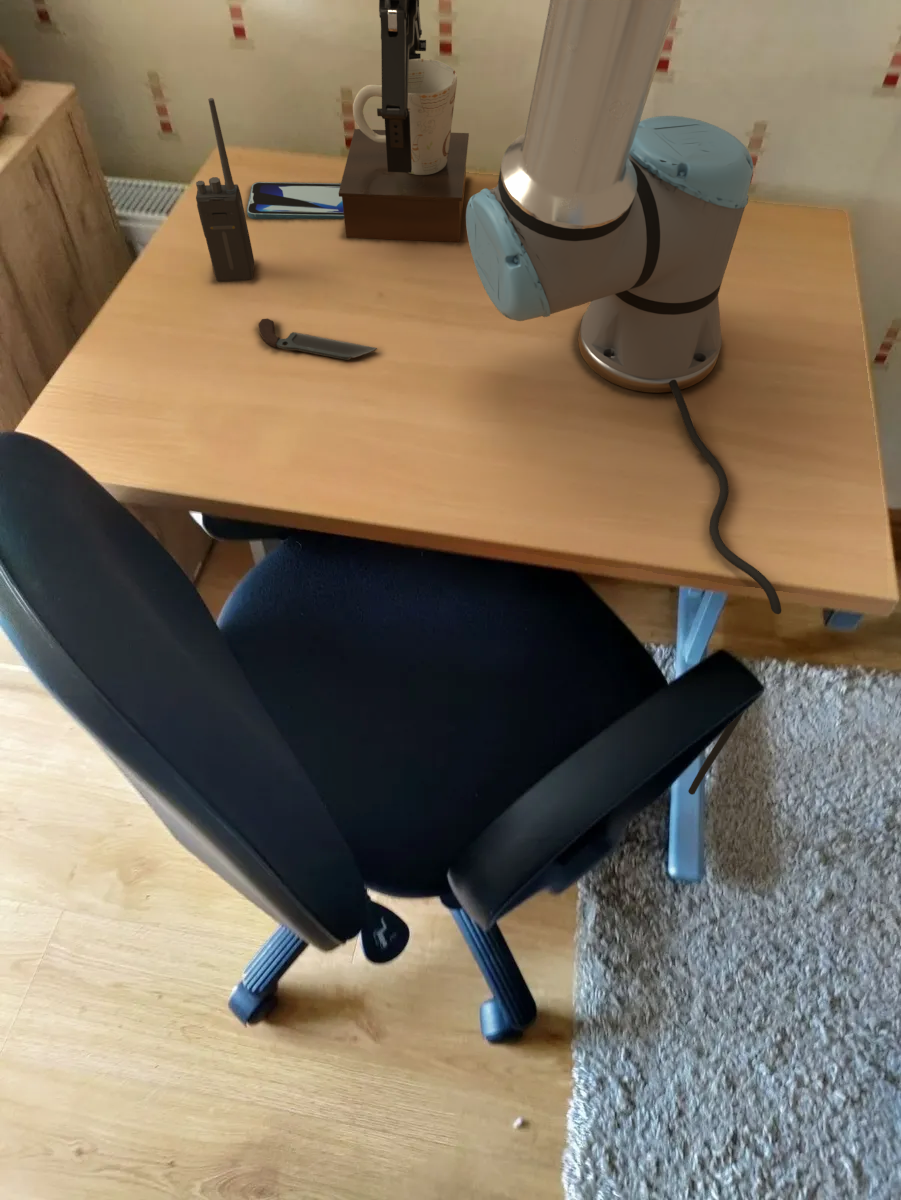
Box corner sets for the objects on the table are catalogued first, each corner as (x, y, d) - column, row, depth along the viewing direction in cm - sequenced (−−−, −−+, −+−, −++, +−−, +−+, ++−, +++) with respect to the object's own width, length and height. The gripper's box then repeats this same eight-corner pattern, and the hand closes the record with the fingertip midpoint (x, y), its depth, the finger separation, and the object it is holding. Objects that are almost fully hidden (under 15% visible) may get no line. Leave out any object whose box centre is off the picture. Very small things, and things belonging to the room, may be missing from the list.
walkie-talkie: (256, 262, 106) (221, 89, 90) (254, 280, 104) (218, 105, 88) (216, 264, 106) (173, 90, 90) (214, 281, 104) (169, 107, 88)
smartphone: (365, 216, 111) (245, 214, 111) (365, 223, 112) (247, 221, 112) (367, 183, 115) (252, 181, 115) (368, 190, 116) (253, 188, 116)
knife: (249, 343, 98) (248, 338, 97) (263, 321, 100) (262, 316, 99) (369, 367, 95) (368, 362, 95) (381, 343, 98) (380, 338, 97)
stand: (461, 243, 108) (461, 197, 103) (343, 238, 109) (338, 192, 104) (468, 178, 117) (468, 132, 112) (358, 174, 117) (354, 128, 112)
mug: (449, 184, 105) (449, 97, 97) (347, 173, 106) (338, 86, 98) (462, 147, 110) (463, 61, 101) (364, 137, 111) (357, 52, 103)
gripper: (373, -118, 95) (385, 87, 113) (341, -22, 81) (361, 196, 99) (443, -117, 95) (444, 89, 112) (423, -20, 81) (428, 199, 98)
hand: (405, 140), depth 106 cm, fingers open, 13 cm apart
